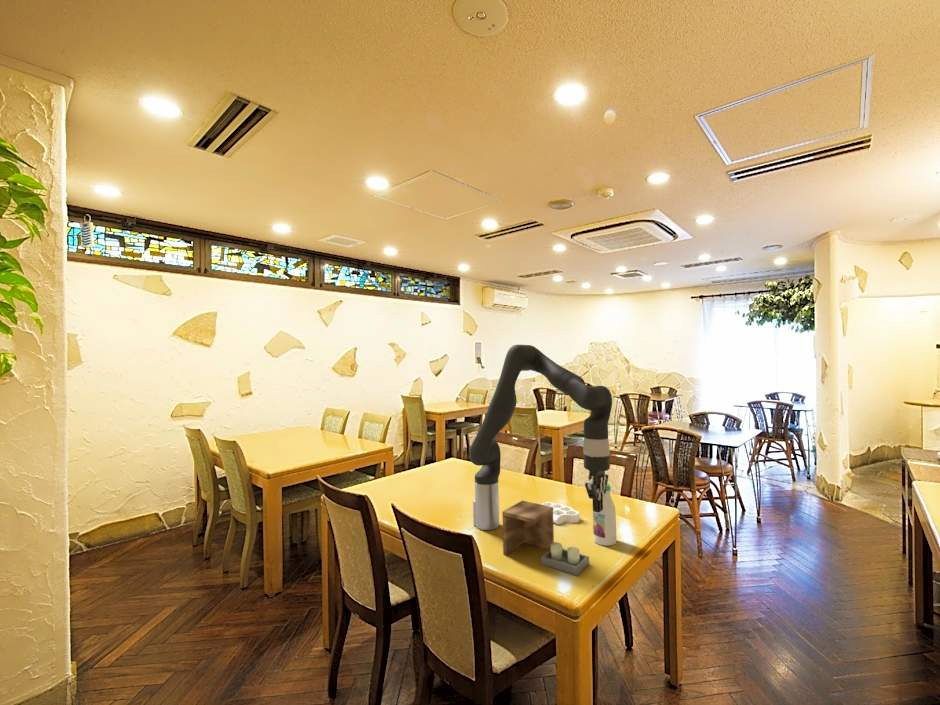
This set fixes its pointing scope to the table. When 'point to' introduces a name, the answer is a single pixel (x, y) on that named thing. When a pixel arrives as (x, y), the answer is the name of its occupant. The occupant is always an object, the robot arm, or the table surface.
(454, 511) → the table surface
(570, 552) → the cream piece
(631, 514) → the table surface
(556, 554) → the cream cylinder
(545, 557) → the tray
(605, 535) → the milk bottle
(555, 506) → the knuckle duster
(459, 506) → the table surface
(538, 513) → the brown wooden cube
